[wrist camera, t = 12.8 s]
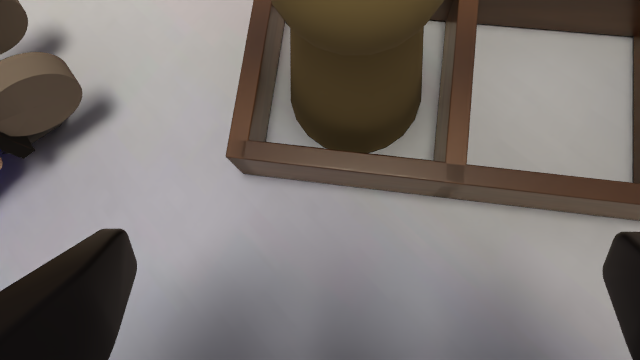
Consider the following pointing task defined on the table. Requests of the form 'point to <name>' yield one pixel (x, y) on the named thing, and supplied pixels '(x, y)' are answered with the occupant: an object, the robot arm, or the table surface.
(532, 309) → the table surface
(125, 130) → the table surface
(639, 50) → the frame
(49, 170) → the table surface
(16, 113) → the figurine character
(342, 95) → the cork
